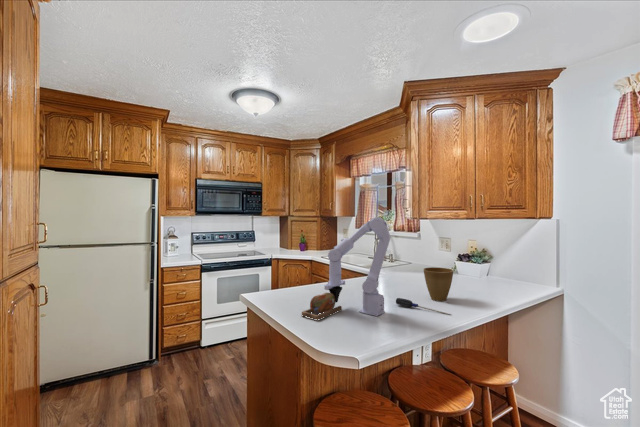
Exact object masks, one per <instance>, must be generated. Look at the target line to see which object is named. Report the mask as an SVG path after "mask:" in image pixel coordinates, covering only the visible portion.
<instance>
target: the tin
mask: <svg viewBox="0 0 640 427" xmlns="http://www.w3.org/2000/svg"><path fill="white" fill-rule="evenodd" d="M335 307H336V303H335V296H334V295H333V294H332V293H330V292H324V293H321V294H317V295H314V296H313V297H312V298H311V300H310V304H309V309H310V310H311V312H312V314H314V315H317V314H319V313H323V312H326V311H329V310H331V309H333V308H335Z"/></svg>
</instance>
